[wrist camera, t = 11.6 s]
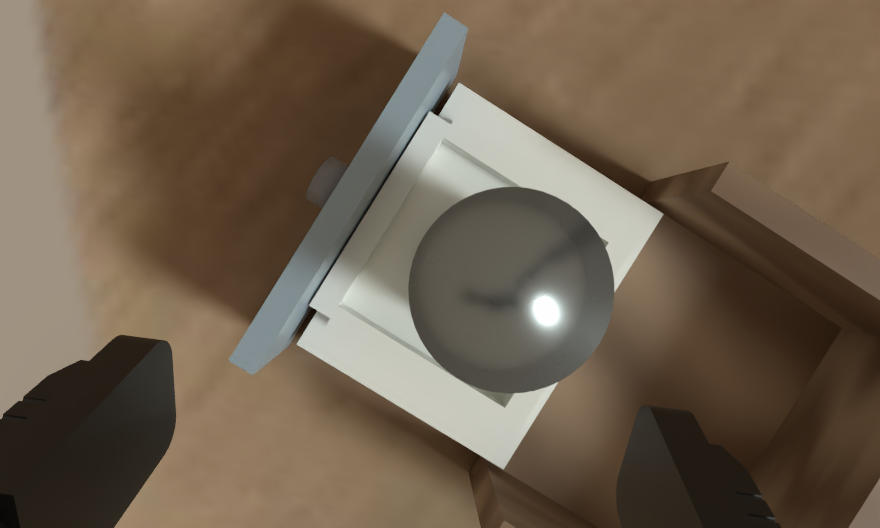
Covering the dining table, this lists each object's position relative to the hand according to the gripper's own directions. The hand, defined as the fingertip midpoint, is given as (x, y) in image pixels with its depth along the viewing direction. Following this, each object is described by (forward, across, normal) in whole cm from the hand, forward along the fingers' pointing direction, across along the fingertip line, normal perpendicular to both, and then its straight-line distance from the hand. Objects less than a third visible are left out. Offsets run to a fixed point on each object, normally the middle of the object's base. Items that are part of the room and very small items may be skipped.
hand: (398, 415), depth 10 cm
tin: (+15, -2, +4) cm, 16 cm away
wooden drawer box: (+16, -12, +9) cm, 22 cm away
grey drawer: (+17, -1, +4) cm, 17 cm away
